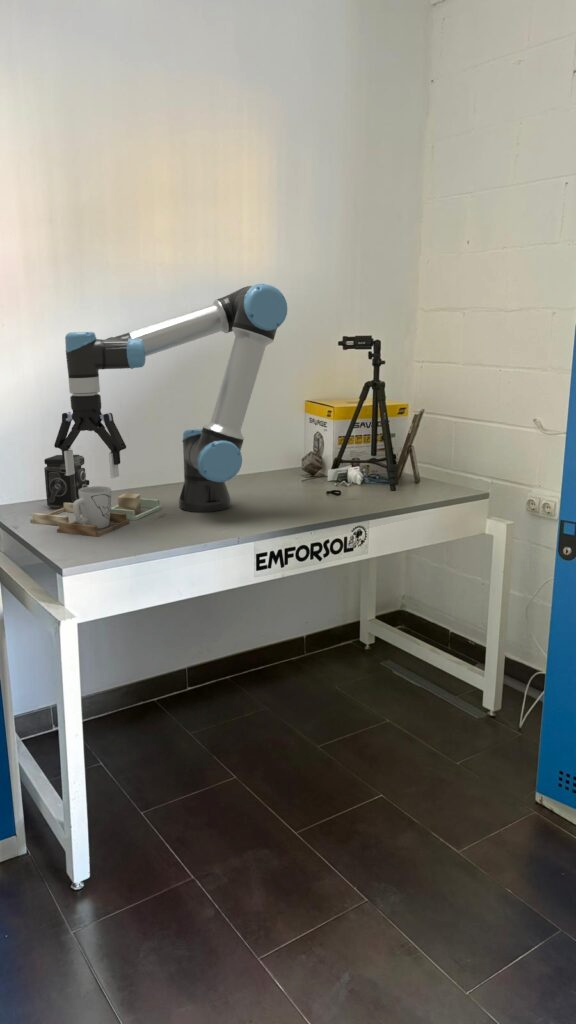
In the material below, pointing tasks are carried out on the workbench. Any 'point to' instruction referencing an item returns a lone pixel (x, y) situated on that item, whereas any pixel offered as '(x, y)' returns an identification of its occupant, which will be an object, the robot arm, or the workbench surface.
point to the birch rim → (54, 516)
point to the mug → (93, 506)
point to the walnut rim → (92, 530)
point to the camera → (63, 481)
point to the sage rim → (144, 503)
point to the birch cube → (130, 502)
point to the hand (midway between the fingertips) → (92, 476)
